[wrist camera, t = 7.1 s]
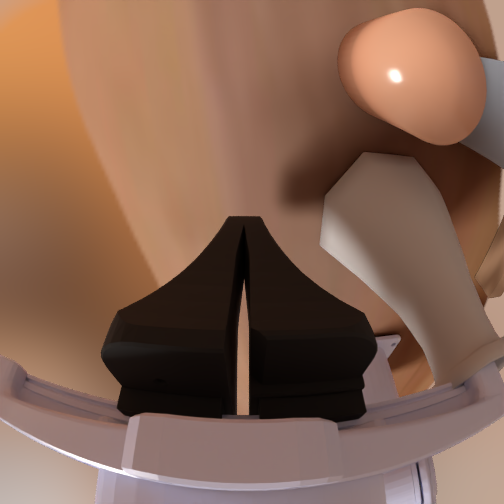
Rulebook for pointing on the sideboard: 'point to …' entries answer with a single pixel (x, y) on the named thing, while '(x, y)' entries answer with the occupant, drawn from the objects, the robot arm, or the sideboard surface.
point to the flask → (411, 261)
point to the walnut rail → (493, 267)
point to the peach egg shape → (415, 74)
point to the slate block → (490, 116)
